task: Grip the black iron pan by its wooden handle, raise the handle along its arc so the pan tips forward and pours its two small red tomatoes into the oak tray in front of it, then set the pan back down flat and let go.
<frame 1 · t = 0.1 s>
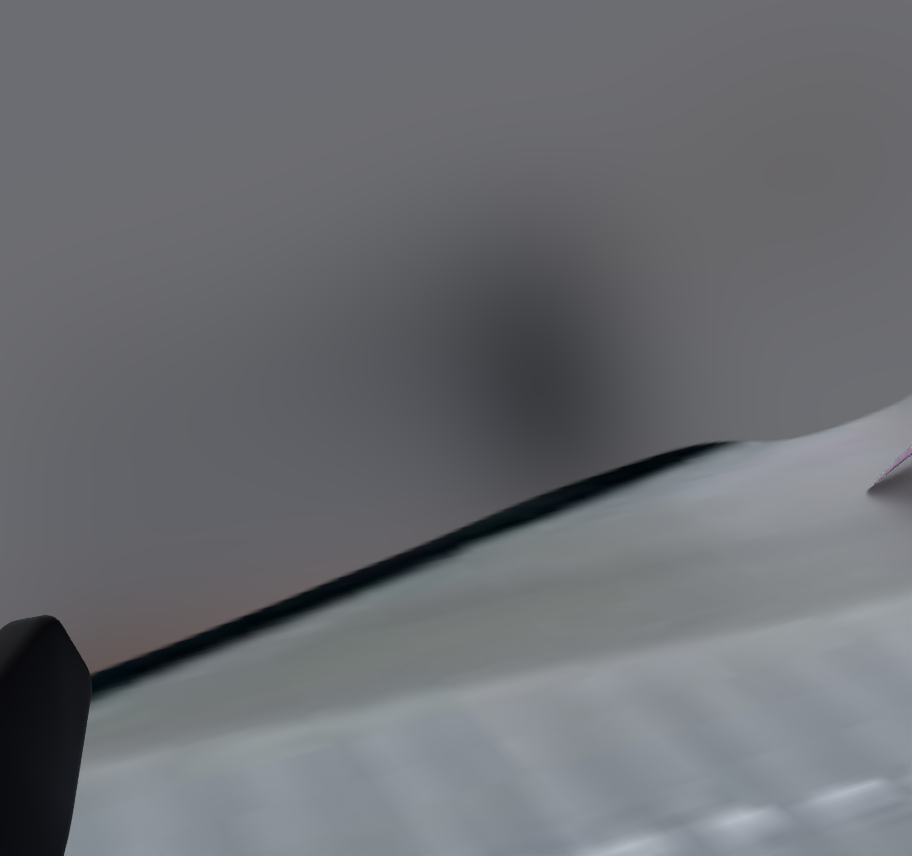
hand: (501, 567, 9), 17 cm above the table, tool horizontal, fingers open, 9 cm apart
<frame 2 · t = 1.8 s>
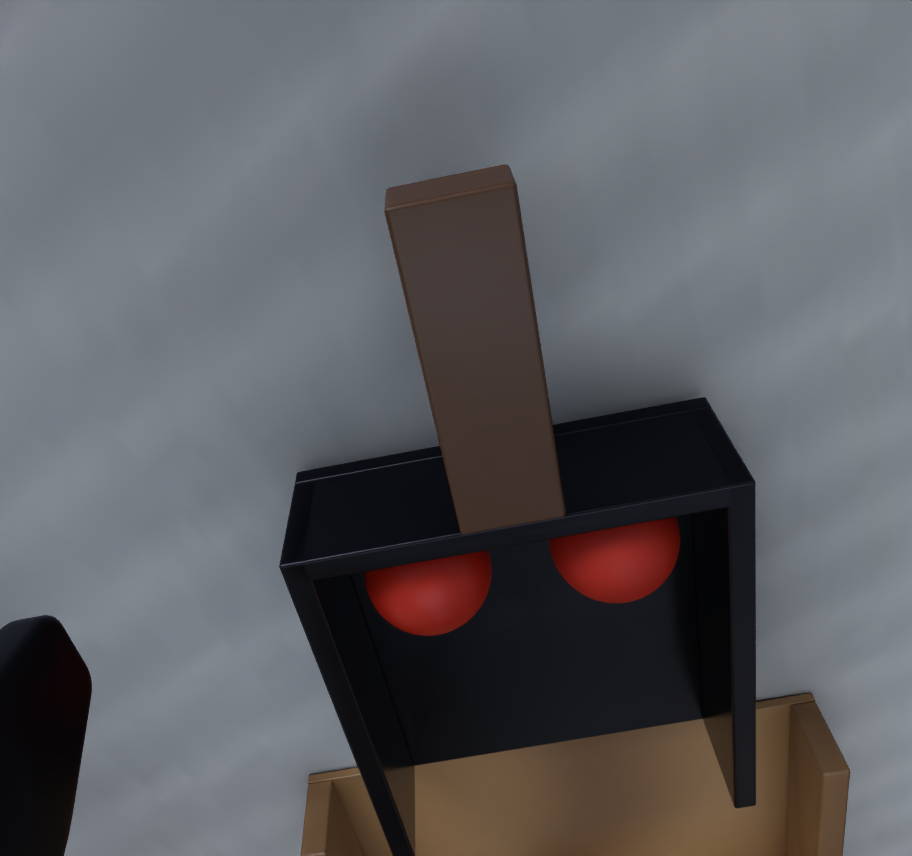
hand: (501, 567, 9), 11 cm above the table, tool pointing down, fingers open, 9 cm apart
tomato b: (427, 570, 20), point 2 cm above the table, tilted 15°, touching pan
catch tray: (573, 827, 30), on the table
tomato a: (613, 537, 20), point 2 cm above the table, tilted 15°, touching pan
pan: (518, 545, 20), point 2 cm above the table, hinge at -0.1°, touching tomato a, tomato b
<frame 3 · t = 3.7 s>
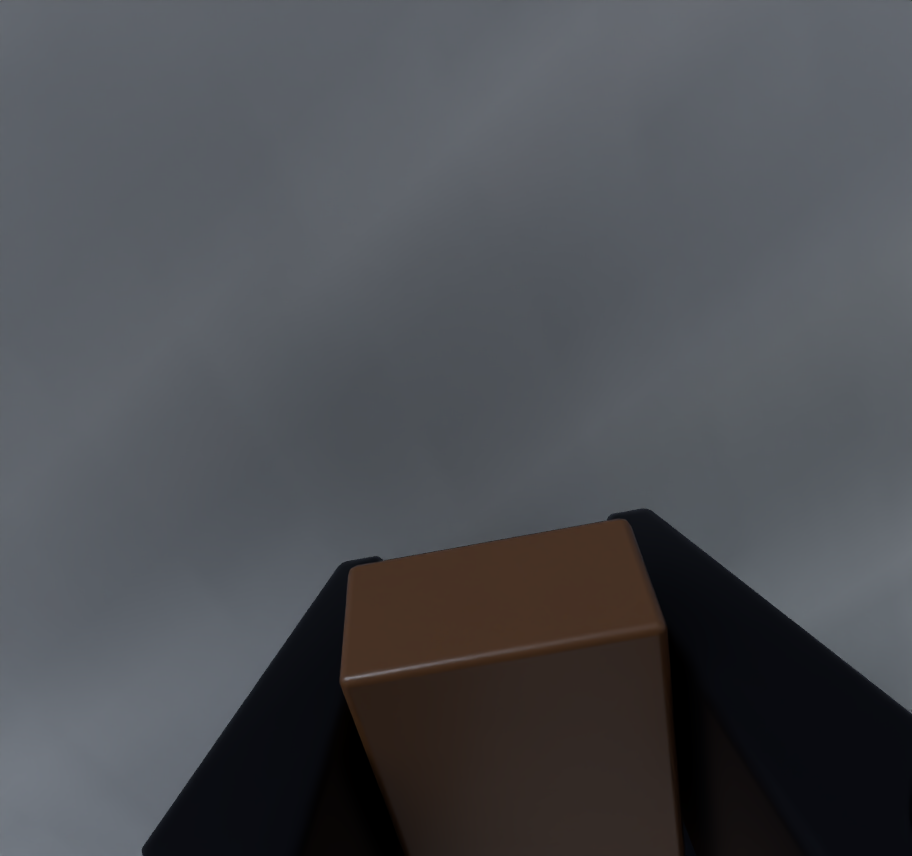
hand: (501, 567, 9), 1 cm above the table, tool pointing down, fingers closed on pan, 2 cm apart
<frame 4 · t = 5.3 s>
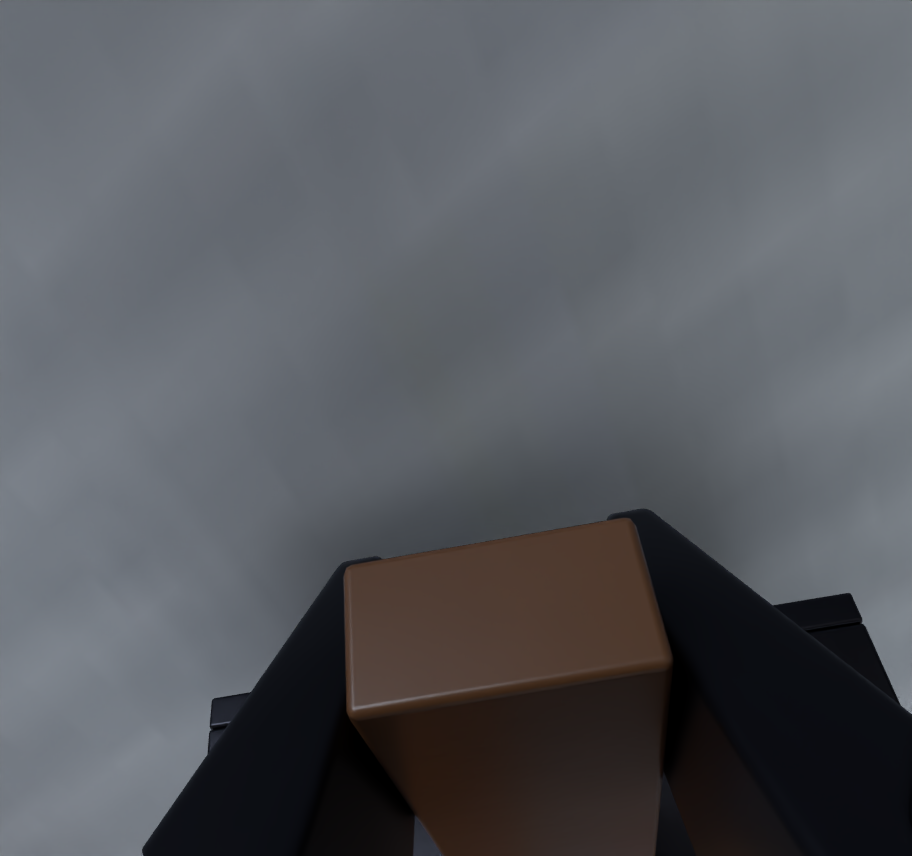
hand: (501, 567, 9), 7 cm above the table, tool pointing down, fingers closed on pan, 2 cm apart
pan: (553, 804, 14), point 5 cm above the table, hinge at 19.0°, touching gripper
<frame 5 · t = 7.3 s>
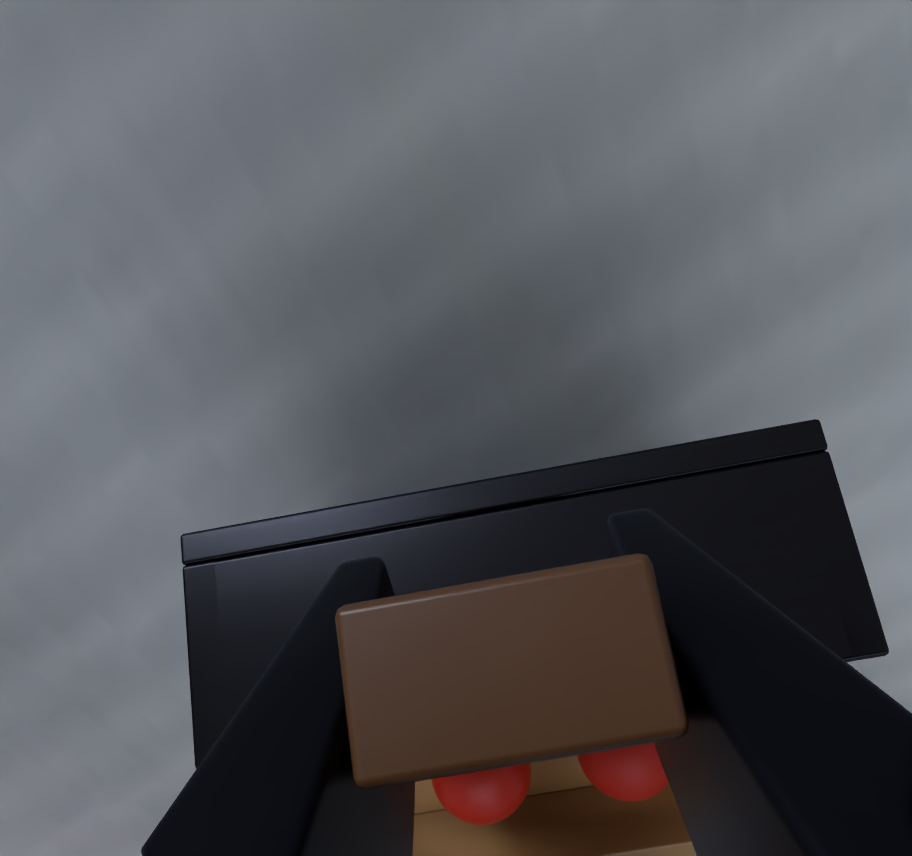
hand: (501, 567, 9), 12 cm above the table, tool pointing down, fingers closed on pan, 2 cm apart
tomato b: (480, 769, 26), point 2 cm above the table, tilted 144°, touching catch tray
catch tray: (543, 698, 27), on the table
tomato a: (627, 746, 25), point 2 cm above the table, tilted 142°, touching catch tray
pan: (518, 605, 15), point 8 cm above the table, hinge at 41.6°, touching gripper
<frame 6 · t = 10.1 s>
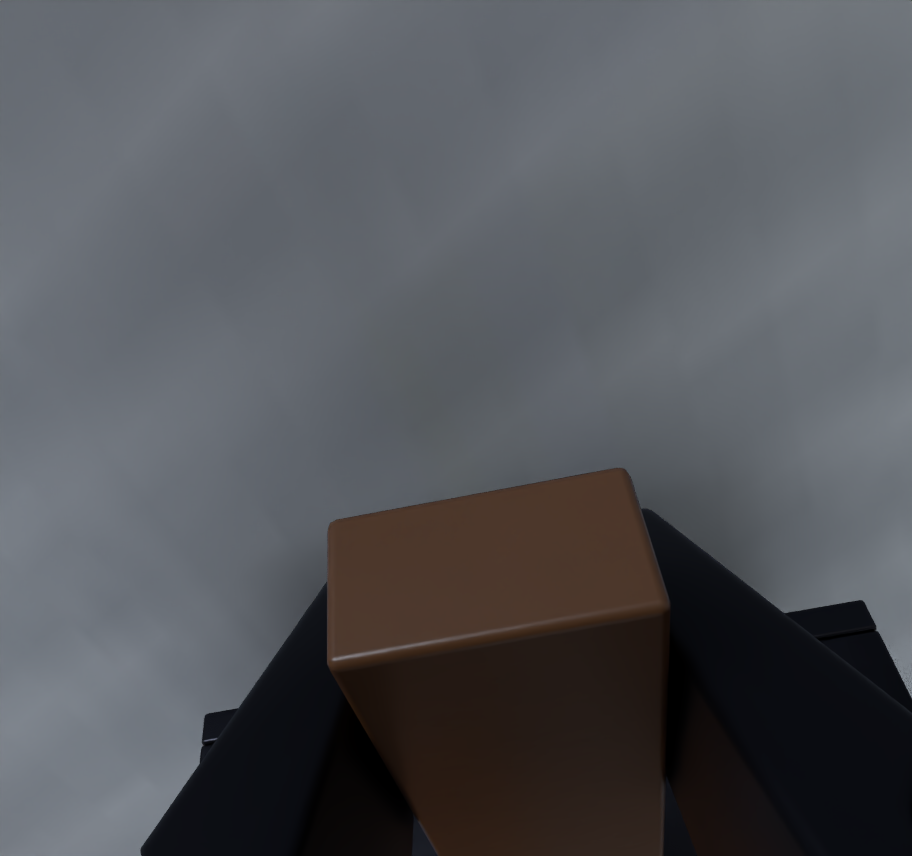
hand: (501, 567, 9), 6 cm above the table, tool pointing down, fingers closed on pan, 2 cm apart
pan: (559, 826, 13), point 4 cm above the table, hinge at 14.3°, touching gripper
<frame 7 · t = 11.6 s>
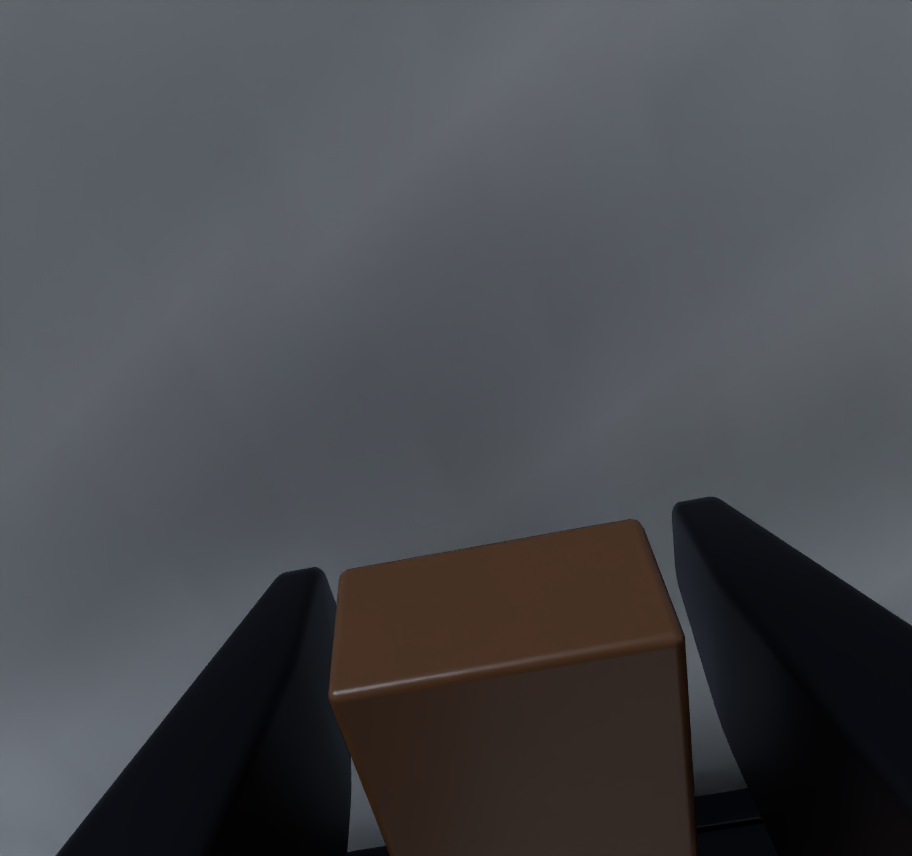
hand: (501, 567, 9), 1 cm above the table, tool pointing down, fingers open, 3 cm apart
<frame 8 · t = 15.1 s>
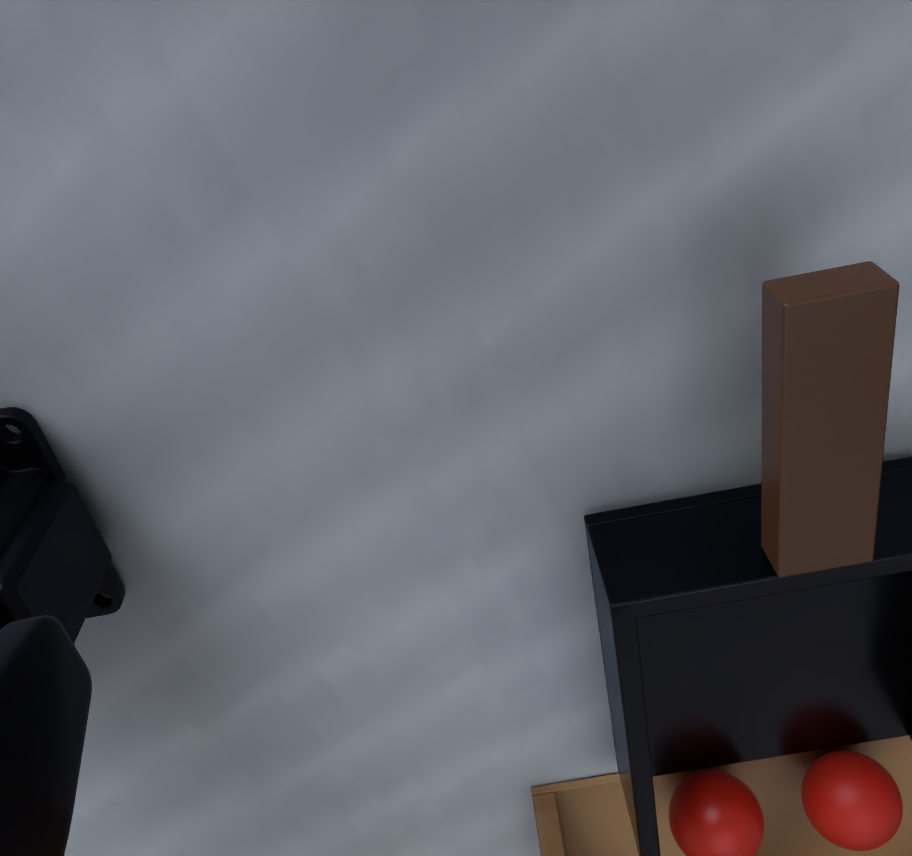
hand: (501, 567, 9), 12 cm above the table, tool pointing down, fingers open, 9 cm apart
tomato b: (715, 819, 28), point 2 cm above the table, tilted 28°, touching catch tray
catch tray: (762, 835, 32), on the table
tomato a: (850, 799, 28), point 2 cm above the table, tilted 34°, touching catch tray
pan: (794, 582, 22), point 2 cm above the table, hinge at -0.1°
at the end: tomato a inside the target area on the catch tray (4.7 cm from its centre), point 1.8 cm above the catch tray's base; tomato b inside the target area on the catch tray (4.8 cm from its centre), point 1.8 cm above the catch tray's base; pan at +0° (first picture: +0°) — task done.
